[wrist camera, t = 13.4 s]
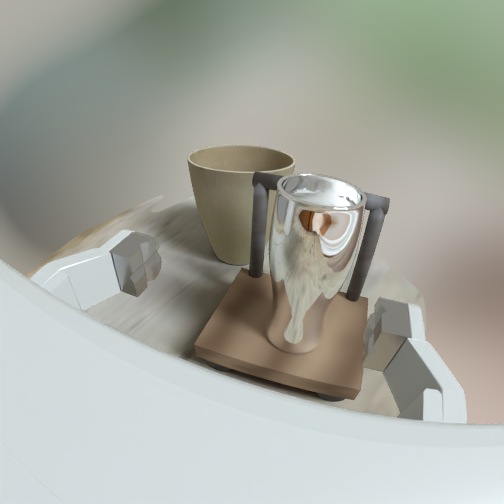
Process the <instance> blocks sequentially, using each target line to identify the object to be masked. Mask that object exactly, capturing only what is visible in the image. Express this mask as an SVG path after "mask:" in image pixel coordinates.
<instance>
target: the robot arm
mask: <svg viewBox="0 0 504 504" xmlns="http://www.w3.org/2000/svg"><path fill="white" fill-rule="evenodd" d="M158 249H159V242H158V240H157V239H156V238H155V237H152V236H149V235H145V234H142V233H139V232H135V231H132V230H128V229H123V230H122V231H120V232H119V233H118V234H116V235H115V236H114V237H113V238H111V239H110V240H109V241H108V242H106V243H105V244H104V245H103V246H101V247H100V248H99V249H98V248H94V249H90V250H87V251H84V252H81V253H77V254H74V255H71V256H68V257H65V258H62V259H59V260H56V261H52V262H49V263H47V264H46V265H45V266H44V267H42V268H41V269H40V270H39V271H38V272H37V273H35V274H34V275H33V276H32V277H31V278H30V279H28V278H27V277H25V276H24V275H22V274H21V273H20V272H18V271H17V270H15V269H14V268H12V267H11V266H9V265H8V264H7V263H5V262H4V261H3V260H1V259H0V504H504V424H467V415H466V402H465V392H464V391H463V389H462V388H461V386H460V385H459V383H458V382H457V380H456V379H455V378H454V376H453V375H452V373H451V372H450V370H449V369H448V367H447V366H446V365H445V363H444V362H443V360H442V359H441V358H440V356H439V355H438V354H437V352H436V351H435V350H434V348H433V347H432V345H431V344H430V343H429V342H426V340H425V332H424V325H423V318H422V311H421V307H420V306H418V305H413V304H409V303H403V302H398V301H394V300H390V299H386V298H382V297H379V298H378V300H377V302H376V304H375V312H374V313H373V314H371V315H370V317H369V319H368V321H367V324H366V327H365V331H364V337H363V342H364V343H365V347H364V349H363V351H362V359H361V367H364V368H368V369H372V370H377V371H381V372H383V374H384V376H385V379H386V381H387V383H388V385H389V388H390V390H391V392H392V394H393V397H394V399H395V401H396V404H397V406H398V408H399V411H400V413H401V414H400V415H399V416H398V417H390V416H384V415H377V414H371V413H366V412H360V411H355V410H350V409H345V408H340V407H335V406H331V405H326V404H322V403H318V402H314V401H309V400H305V399H302V398H298V397H294V396H290V395H286V394H283V393H279V392H276V391H272V390H269V389H266V388H262V387H259V386H256V385H253V384H249V383H246V382H243V381H240V380H237V379H234V378H231V377H228V376H226V375H223V374H220V373H217V372H214V371H212V370H209V369H206V368H204V367H201V366H199V365H196V364H193V363H191V362H188V361H186V360H183V359H181V358H178V357H176V356H174V355H171V354H169V353H167V352H164V351H162V350H160V349H157V348H155V347H153V346H151V345H148V344H146V343H144V342H142V341H140V340H138V339H135V338H133V337H131V336H129V335H127V334H125V333H123V332H121V331H119V330H117V329H115V328H113V327H111V326H109V325H107V324H105V323H103V322H101V321H99V320H98V319H96V318H94V317H92V316H90V315H88V314H86V313H85V312H83V311H84V310H86V309H88V308H90V307H92V306H94V305H96V304H98V303H100V302H102V301H104V300H106V299H108V298H110V297H112V296H114V295H116V294H118V293H120V292H121V291H122V292H125V293H127V294H130V295H133V296H135V297H138V296H139V295H140V294H141V293H142V292H143V291H144V290H145V289H146V288H147V282H149V281H152V280H154V279H155V278H156V276H157V275H158V273H159V271H160V269H161V257H160V255H159V254H158V252H157V250H158Z"/></svg>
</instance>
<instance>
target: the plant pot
mask: <svg viewBox="0 0 504 504" xmlns="http://www.w3.org/2000/svg"><path fill="white" fill-rule="evenodd" d="M187 159H188V165H189V171H190V177H191V182H192V187H193V192H194V196H195V200H196V204H197V207H198V211H199V214H200V217H201V220H202V223H203V226H204V229H205V231H206V234H207V236H208V239H209V241H210V244H211V246H212V248H213V250H214V252H215V254H216V256H217V257H218V258H219V259H220V260H221V261H223V262H225V263H228V264H233V265H245V264H249V263H250V249H251V231H252V212H253V194H254V187H253V186H252V178H253V175H254V172H263V173H269V174H275V175H281V176H287V175H291V174H293V171H294V167H295V163H296V161H295V159H294V158H293V157H292V156H291V155H289V154H287V153H285V152H282V151H279V150H275V149H271V148H267V147H261V146H253V145H219V146H212V147H206V148H202V149H199V150H196V151H193V152H192V153H190V154H189V155H188V157H187ZM275 196H276V191H275V190H269V201H268V213H267V225H266V237H265V246H266V244H267V242H268V240H269V236H270V226H271V219H272V213H273V207H274V202H275Z"/></svg>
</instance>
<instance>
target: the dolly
mask: <svg viewBox="0 0 504 504" xmlns="http://www.w3.org/2000/svg"><path fill="white" fill-rule="evenodd" d="M282 177H284V176H281V175H275V174H269V173H263V172H254V175H253V178H252V186H253V187H254V194H253V212H252V231H251V249H250V268H249V270H248V269H244V268H241V270H240V272H239V273H238V275H237V276H236V278H235V280H234V281H233V283H232V284H231V286H230V288H229V289H228V291H227V292H226V294H225V296H224V297H223V299H222V300H221V302H220V304H219V305H218V307H217V308H216V310H215V312H214V313H213V315H212V316H211V318H210V320H209V321H208V323H207V324H206V326H205V328H204V329H203V331H202V332H201V334H200V336H199V337H198V339H197V340H196V342H195V344H194V348H195V354H196V357H199V358H202V359H205V360H206V362H207V363H208V364H209V365H210V366H211V367H213V368H215V369H217V370H220V371H229V370H231V369H234V370H237V371H240V372H243V373H247V374H250V375H253V376H257V377H260V378H263V379H267V380H270V381H274V382H278V383H281V384H285V385H289V386H293V387H297V388H301V389H305V390H309V391H313V392H317V393H318V395H319V396H320V397H321V398H322V399H324V400H327V401H334V402H335V401H342V400H344V399H351V400H354V399H355V398H356V396H357V395H358V393H359V392H360V390H361V384H362V376H363V367H361V359H362V351H363V349H364V347H365V343H364V342H363V337H364V331H365V327H366V324H367V310H368V298H366V297H361V296H360V293H361V291H362V288H363V285H364V282H365V279H366V276H367V273H368V270H369V267H370V264H371V261H372V258H373V255H374V252H375V249H376V245H377V242H378V239H379V235H380V232H381V228H382V225H383V221H384V217H385V214H387V212H388V208H389V202H390V199H389V198H386V197H382V196H378V195H373V194H369V193H365V192H364V193H365V195H366V197H367V201H366V205H365V209H367V210H370V213H369V217H368V221H367V225H366V229H365V233H364V236H363V240H362V244H361V247H360V251H359V254H358V258H357V261H356V265H355V268H354V271H353V274H352V278H351V281H350V284H349V287H348V290H347V293H344V292H340V291H339V293H338V294H337V296H336V298H335V300H334V301H333V303H332V305H331V307H330V309H329V312H328V314H327V318H326V330H325V336H324V339H323V341H322V343H321V344H320V345H319V347H317V348H316V349H315V350H313V351H311V352H308V353H303V354H292V353H288V352H284V351H282V350H280V349H278V348H276V347H275V346H274V345H273V344H272V343H271V342H270V341H269V340H268V338H267V336H266V333H265V323H266V320H267V317H268V315H269V312H270V310H271V307H272V299H273V295H272V283H271V275H268V274H264V273H262V272H263V261H264V249H265V237H266V225H267V213H268V201H269V190H275V191H277V182H278V181H279V179H281V178H282Z"/></svg>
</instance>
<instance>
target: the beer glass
mask: <svg viewBox="0 0 504 504" xmlns="http://www.w3.org/2000/svg"><path fill="white" fill-rule="evenodd" d="M366 201H367V197H366V195H365V193H364V192H363V191H362V190H361V189H360V188H358V187H357V186H355V185H353V184H351V183H349V182H347V181H344V180H342V179H339V178H336V177H332V176H327V175H322V174H313V173H298V174H291V175H287V176H284V177H282V178H281V179H279V181H278V182H277V191H276V196H275V202H274V207H273V213H272V219H271V226H270V236H269V264H270V274H271V283H272V295H273V299H272V307H271V310H270V312H269V315H268V317H267V320H266V323H265V333H266V336H267V338H268V340H269V341H270V342H271V343H272V344H273V345H274V346H275V347H276V348H278V349H280V350H282V351H284V352H288V353H292V354H303V353H308V352H311V351H313V350H315V349H316V348H317V347H319V345H320V344H321V343H322V341H323V339H324V336H325V330H326V318H327V314H328V312H329V309H330V307H331V305H332V303H333V301H334V300H335V298H336V296H337V294H338V293H339V291H340V289H341V287H342V285H343V283H344V282H345V280H346V278H347V275H348V273H349V271H350V269H351V267H352V264H353V261H354V258H355V255H356V252H357V248H358V244H359V240H360V235H361V230H362V224H363V218H364V210H365V205H366Z"/></svg>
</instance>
